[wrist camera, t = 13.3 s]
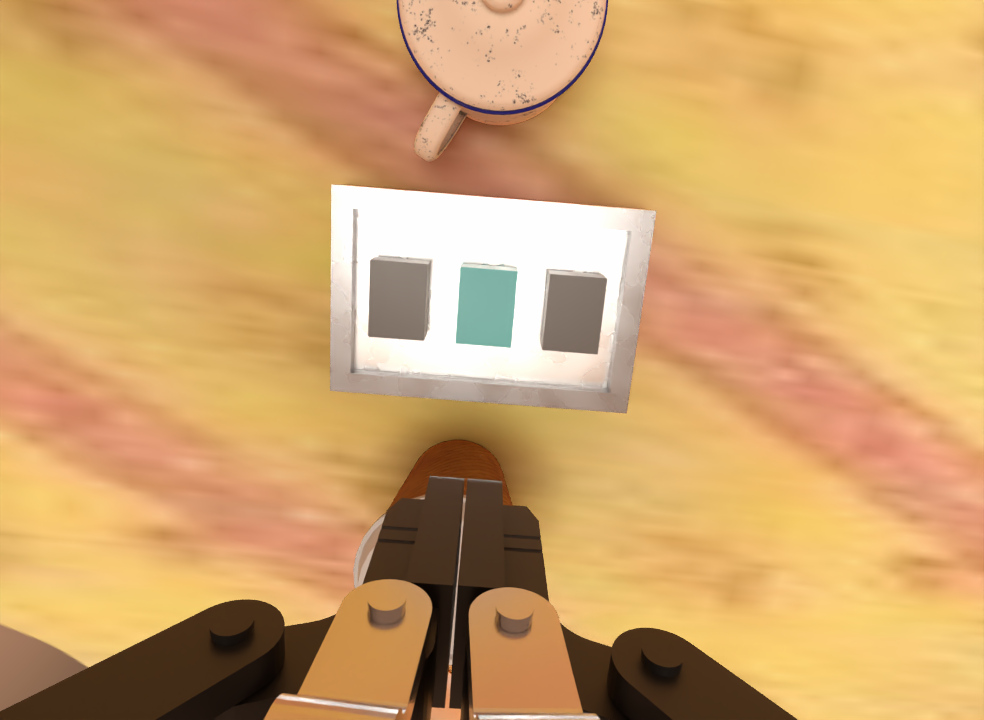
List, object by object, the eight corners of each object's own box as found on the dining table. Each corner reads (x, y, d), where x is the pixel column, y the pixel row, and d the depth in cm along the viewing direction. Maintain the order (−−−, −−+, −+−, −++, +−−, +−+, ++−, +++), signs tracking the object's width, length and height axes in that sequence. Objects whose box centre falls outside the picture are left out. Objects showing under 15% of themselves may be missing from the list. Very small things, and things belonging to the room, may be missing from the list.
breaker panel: (344, 184, 37) (331, 184, 34) (643, 208, 37) (656, 210, 34) (342, 375, 40) (330, 390, 37) (617, 396, 40) (626, 413, 37)
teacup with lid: (475, -85, 33) (465, -224, 22) (613, 17, 34) (671, -65, 23) (365, 117, 36) (305, 86, 25) (496, 204, 37) (497, 213, 26)
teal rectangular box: (461, 263, 36) (460, 266, 34) (516, 267, 36) (517, 271, 34) (457, 336, 37) (455, 343, 35) (510, 341, 37) (511, 347, 35)
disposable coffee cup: (394, 408, 41) (354, 497, 29) (537, 426, 41) (553, 521, 29) (382, 534, 43) (341, 662, 32) (517, 550, 44) (524, 682, 32)
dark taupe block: (547, 269, 36) (550, 273, 34) (602, 274, 36) (607, 278, 34) (540, 343, 37) (542, 350, 35) (593, 347, 37) (597, 354, 35)
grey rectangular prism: (375, 256, 36) (369, 259, 34) (430, 260, 36) (427, 264, 34) (373, 330, 37) (367, 336, 35) (427, 334, 37) (423, 341, 35)
